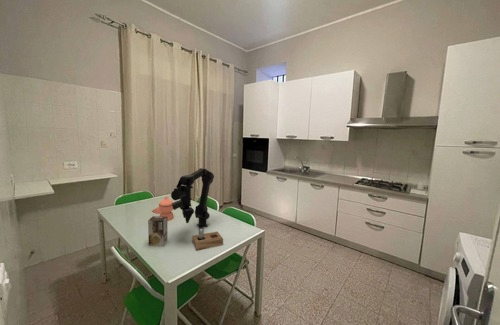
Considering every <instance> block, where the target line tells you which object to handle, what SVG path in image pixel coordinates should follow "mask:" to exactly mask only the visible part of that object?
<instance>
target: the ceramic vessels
mask: <svg viewBox="0 0 500 325" xmlns="http://www.w3.org/2000/svg"><path fill="white" fill-rule="evenodd" d="M172 203H174V200H173V199H170V198H169V196H164V198H163V199H162V200H161V201H159V203H158V207H156V208H155V209H153V210H151V213H152V212H153V213H152V214H154V213H155V215H159V216H161V217H167V222H169V221H172V220H173V218H174V213H173V211H174V209H173V207H172V205H171V204H172Z"/></svg>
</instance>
